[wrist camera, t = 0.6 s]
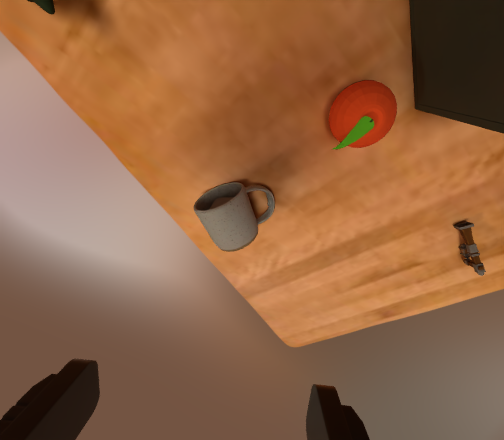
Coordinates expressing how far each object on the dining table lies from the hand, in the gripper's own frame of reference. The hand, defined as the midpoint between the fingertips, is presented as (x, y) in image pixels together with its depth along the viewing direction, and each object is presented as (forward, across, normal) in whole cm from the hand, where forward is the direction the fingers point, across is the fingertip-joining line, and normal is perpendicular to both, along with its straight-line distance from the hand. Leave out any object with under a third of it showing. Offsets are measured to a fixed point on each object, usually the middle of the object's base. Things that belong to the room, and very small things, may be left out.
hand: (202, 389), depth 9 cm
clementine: (+26, -12, -15) cm, 32 cm away
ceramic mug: (+31, +1, -2) cm, 31 cm away
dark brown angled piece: (+30, -34, +1) cm, 45 cm away
